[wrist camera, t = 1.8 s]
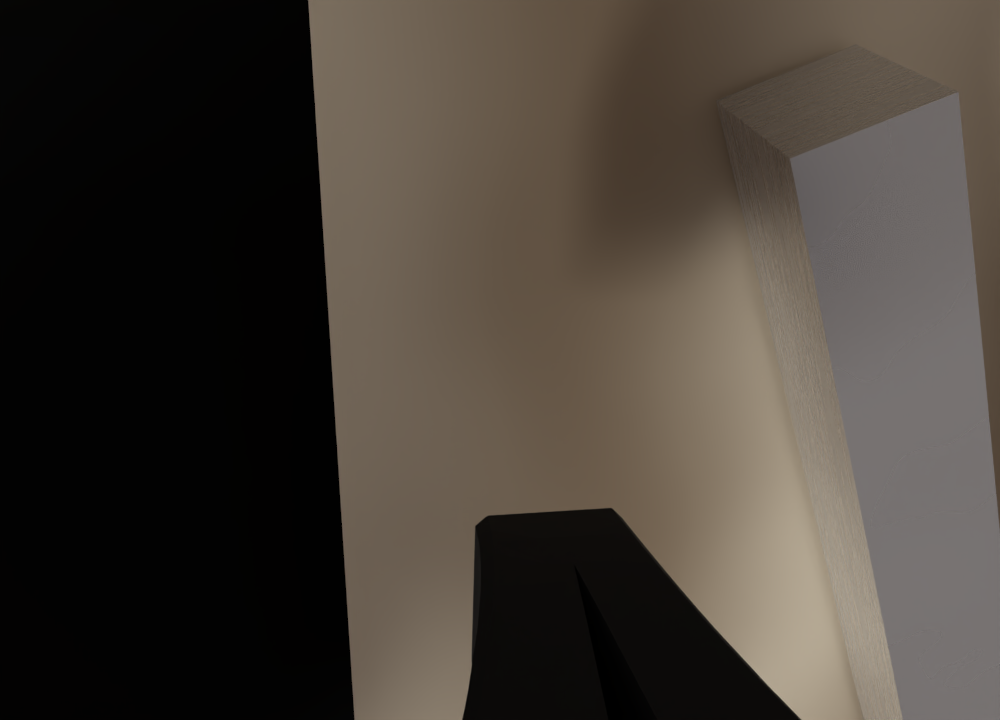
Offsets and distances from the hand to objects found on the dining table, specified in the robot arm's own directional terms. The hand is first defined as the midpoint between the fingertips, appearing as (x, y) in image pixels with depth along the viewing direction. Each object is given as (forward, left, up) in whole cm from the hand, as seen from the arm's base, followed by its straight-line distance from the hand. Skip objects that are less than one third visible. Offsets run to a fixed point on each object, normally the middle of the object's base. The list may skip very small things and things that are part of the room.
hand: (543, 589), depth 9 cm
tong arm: (+8, -6, -3) cm, 10 cm away
